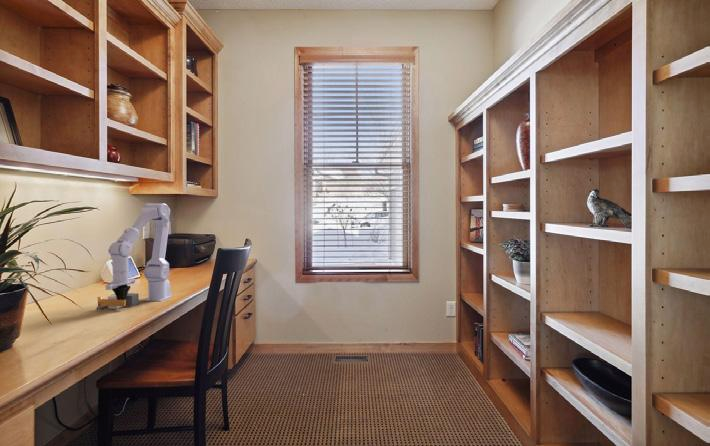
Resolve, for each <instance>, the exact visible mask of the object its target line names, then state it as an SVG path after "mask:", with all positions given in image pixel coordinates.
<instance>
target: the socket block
mask: <svg viewBox="0 0 710 446" xmlns="http://www.w3.org/2000/svg"><path fill="white" fill-rule="evenodd" d="M111 295H115V293H112V294H111ZM139 301H140V300H139V293H134V292H133V293H131V292H128V293H127V296H126V306H125V307H134V306H137V305H139V304H140V303H139ZM95 309H96V311H97V310H98V311H101V310H103V309H108V306H103V305H102V306H97V307H96V308H95Z"/></svg>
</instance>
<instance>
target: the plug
mask: <svg viewBox="0 0 710 446" xmlns="http://www.w3.org/2000/svg"><path fill="white" fill-rule="evenodd" d="M107 299H117V297H116V295H112V294H110V295H108V296H107ZM120 308H121V309H122V308H124V306H108V307H107V309H114V310H115V309H117V310H118V309H120Z"/></svg>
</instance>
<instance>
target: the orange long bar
mask: <svg viewBox="0 0 710 446" xmlns="http://www.w3.org/2000/svg"><path fill="white" fill-rule="evenodd" d="M102 305H103V306H123V307H127V306H126V300H122V299H108V298H103V297H102V296H98V297H97V307H99V306H102Z"/></svg>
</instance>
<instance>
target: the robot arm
mask: <svg viewBox="0 0 710 446" xmlns="http://www.w3.org/2000/svg"><path fill="white" fill-rule="evenodd" d="M140 211H141V212H140V214H139V216H138V217H137V218H136V220H135V221H134V223H133V225H132V226H131V227H128V228H125V229H124V230H123V233H122V234H121V235H120V237H119V238H118V239H117V240H116V241H115V242H113V243H111V244H110V246H109V248H108V250H107V251H108V254H109V255H110V258H111V261H112V262H111V263H112V281H110V283H108V284H105V291H113V294H115V295H116V297H117V299H122V300H126V296H127V293H129V291H130V289H131V284H133V285H134V284H136V278H130V272H129V268H130V267H129V266H130V265H129V262H130V261H129V255H131V253H132V250H133V247H134V245H135V243H136V242H137V240H138V239H139V237H140V236H141V233H140V232H141V230H142V229H144V227H145V226H146V225H147V224H148V223H149V222H150V220H151V222H153V223H154V224H155V231H154V239H153V247H152V254H151V258H150V259H149V260H148V261H147V262H146V266H145V268H144V270H143V276H144V278H146V281H147V285H148V286H147V287H148V298H145V299H144V300H143V301H144V302H145V301H146V302H161V301H165V300H168V299H170V298H172V297H173V295H171V282H170V281H169V279H168V278H169V277H170V273H171V272H170V271H171V270H170V263H169V262H168V261H167V260H166V259H165V258H166V253H167V252H166V251H167V244H168V236H169V229H170V218H171V217H170V216H171V208H170V207H169V206H168V204H166V202H165V203H164V202H163V203H150V202H148V203H146V204H144V205H143V207H142V208H141V210H140Z"/></svg>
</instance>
